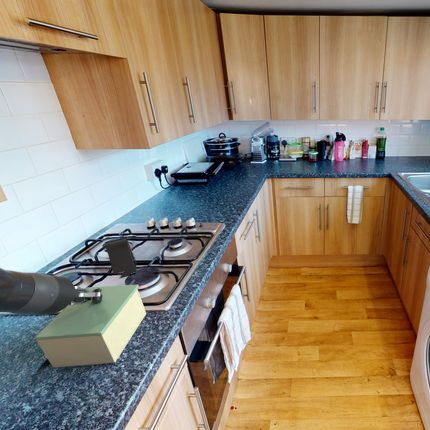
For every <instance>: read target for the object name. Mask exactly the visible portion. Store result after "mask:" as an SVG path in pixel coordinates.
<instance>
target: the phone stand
mask: <svg viewBox="0 0 430 430" xmlns="http://www.w3.org/2000/svg"><path fill="white" fill-rule="evenodd" d="M104 247H105V250H106V253H107V256H108V259H109V263H110V265H111V268H112V269H111V270H112V273H113V275H116V274H121V275H120V276H119V279H122V278H125V277H130V276H131V275H130V274H131V273H133V272H137V260H136V258H135V255H134V252H133V250H132V247H131V245H130V243H129V240H128V237H127V236H126V237H122V238H117V239H113V240H108V241H104ZM129 275H130V276H129Z"/></svg>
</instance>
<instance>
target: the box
mask: <svg viewBox="0 0 430 430" xmlns="http://www.w3.org/2000/svg"><path fill="white" fill-rule="evenodd" d="M138 289H139V288H138ZM138 289H137V290H136V291H135V293H134V294H133V295H132V297H131V298H130V299H129V301H128V302H127V303H126V305H125V306H124V307H123V309H122V310H121V311H120V312H119V314H118V315H117V316H116V318H115V319H114V320H113V322H112V323H111V324H110V326H109V327H108V328H107V329H106V331H105V332H104V333H103V335H101V336H87V337H73V338H59V339H45V340H36V342H37V344H38V345H39V347H40V349H41V350H42V352H43V354H44V355H45V357H46V358H47V360H48V362H49V363H50V365H51V366H52V368H53V369H54V368H66V367H80V366H92V365H93V366H94V365H103V364H105V365H107V364H115V363H116V362H117V361H118V359H119V358H120V356H121V354H122V353H123V352H124V349H125V348H126V346H127V345H128V344H129V342H130V340H131V338H132V337H133V336H134V334H135V332H136V331H137V329H138V328H139V327H140V324H141V323H142V321H143V320H144V318H146V317H145V316H146V315H147V311H146V309H145V306H144V303H143V301H142V297H141V295H140V292H139V290H138Z"/></svg>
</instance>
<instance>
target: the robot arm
mask: <svg viewBox="0 0 430 430" xmlns="http://www.w3.org/2000/svg"><path fill="white" fill-rule="evenodd" d="M101 291H102V289H100V288H97V289H95V290H92V291H89V290H88V289H85V287H81V286H78V285H75V284H74V283H73V281H72V280H71V279H70V278H67V277H65V276H58V275H53V274H47V273H46V274H45V273H41V272H26V271H25V272H24V271H17V270H11V269H4V268H2V267H0V313H7V314H14V315H54V314H57V313H58V314H59V313H60V312H61V311H62V310H63V309H65V308H66V307H67V306H68V305H81V304H86V303H100V302H101V301H102V296H103V295H102V294H101Z"/></svg>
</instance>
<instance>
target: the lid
mask: <svg viewBox="0 0 430 430" xmlns="http://www.w3.org/2000/svg"><path fill="white" fill-rule="evenodd" d="M97 288H100V289H102V291H101V294H102V295H103V296H102V301H101V302H100V303H86V304H81V305H68V306H67V307H66V308H65V309H63V310H62V311H60V312H58V314H57V315H56V316H55V317H54V318H53V319H52V320H51V321H50V322H49V323H48V324H47V325H46V326H45V327H44V328H43V329H42V330H41V331H40V332H39V333H38V334H37V335H35V337H34V338H35V341H37V340H45V339H59V338H73V337H87V336H101V335H103V333H104V332H105V331H106V329H107V328H108V327H109V326H110V324H111V323H112V322H113V320H114V319H115V318H116V316H117V315H118V314H119V312H120V311H121V310H122V309H123V307H124V306H125V305H126V303H127V302H128V301H129V299H130V298H131V297H132V295H133V294H134V293H135V291H136V290H137V289H139V288H140V286H139V284H126V285H125V284H123V285H108V286H107V285H106V286H91V287H84V289H88V290H89V291H92V290H95V289H97Z"/></svg>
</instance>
